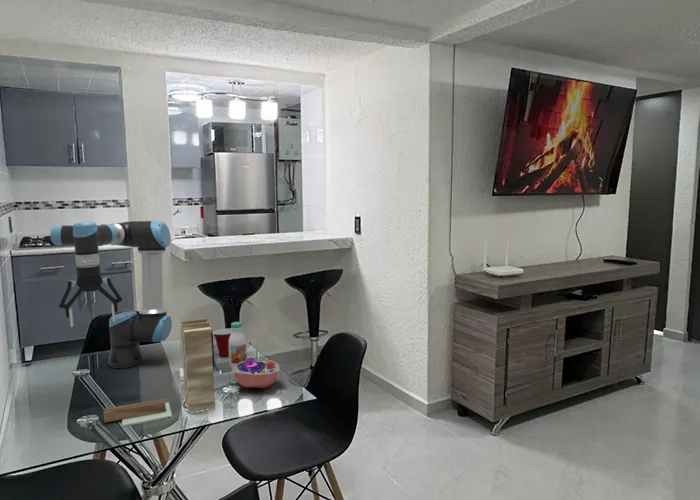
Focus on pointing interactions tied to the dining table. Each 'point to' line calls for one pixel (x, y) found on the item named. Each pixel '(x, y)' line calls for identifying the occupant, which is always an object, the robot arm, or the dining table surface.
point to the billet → (134, 410)
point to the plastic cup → (223, 341)
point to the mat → (148, 417)
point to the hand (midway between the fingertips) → (93, 323)
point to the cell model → (256, 372)
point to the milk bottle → (237, 345)
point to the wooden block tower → (197, 365)
